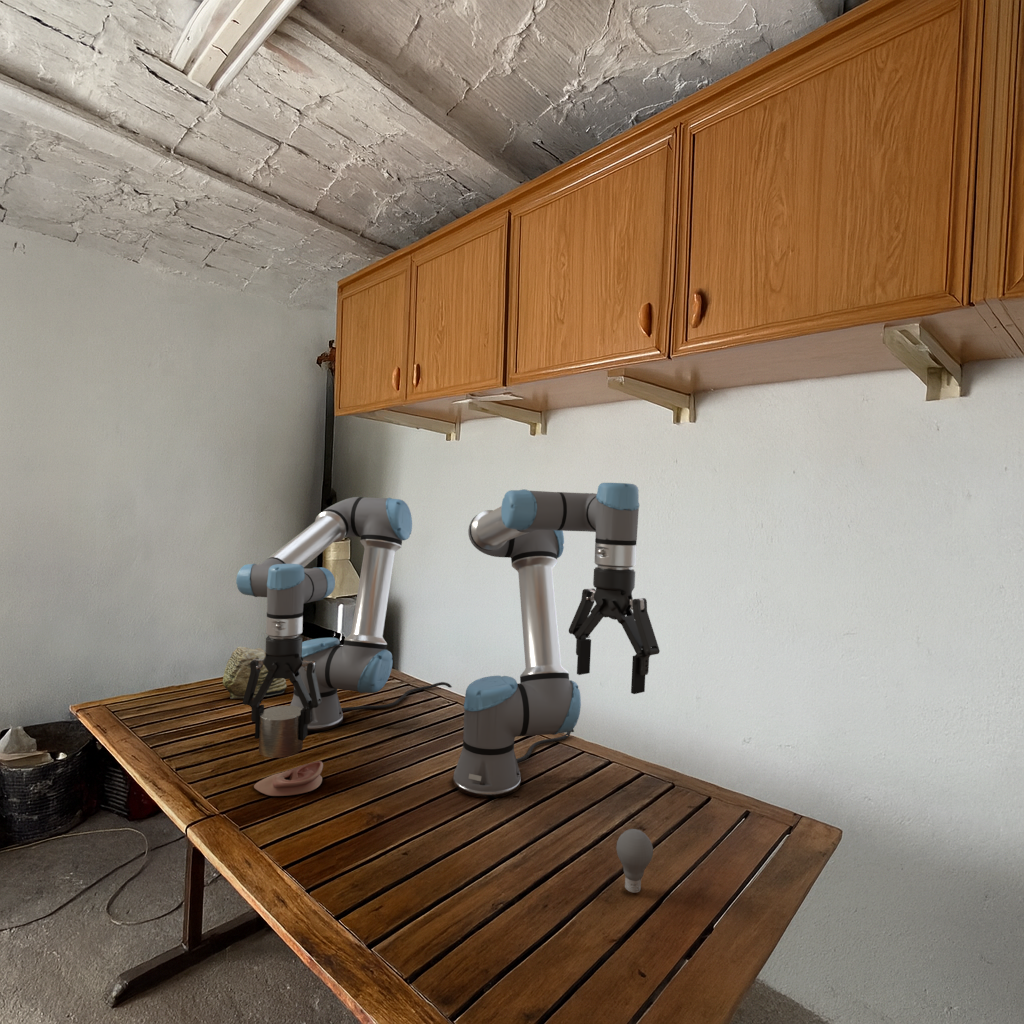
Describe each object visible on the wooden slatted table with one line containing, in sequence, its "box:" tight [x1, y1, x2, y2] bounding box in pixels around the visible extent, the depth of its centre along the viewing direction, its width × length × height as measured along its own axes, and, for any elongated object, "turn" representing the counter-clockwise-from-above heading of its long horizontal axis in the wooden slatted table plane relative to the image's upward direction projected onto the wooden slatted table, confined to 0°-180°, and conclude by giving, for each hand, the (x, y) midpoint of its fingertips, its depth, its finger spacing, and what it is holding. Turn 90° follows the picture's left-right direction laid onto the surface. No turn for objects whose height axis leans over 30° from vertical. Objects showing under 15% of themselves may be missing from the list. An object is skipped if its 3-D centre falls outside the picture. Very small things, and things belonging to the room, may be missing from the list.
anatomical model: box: [253, 760, 324, 797], centre depth 138 cm, size 13×4×12 cm
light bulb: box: [615, 828, 654, 894], centre depth 106 cm, size 6×6×10 cm
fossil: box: [222, 646, 288, 699], centre depth 198 cm, size 9×18×15 cm, turn 132°
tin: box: [258, 705, 304, 759], centre depth 139 cm, size 9×9×8 cm
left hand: (281, 737), depth 139 cm, fingers closed on tin, 9 cm apart
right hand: (609, 682), depth 116 cm, fingers open, 13 cm apart
